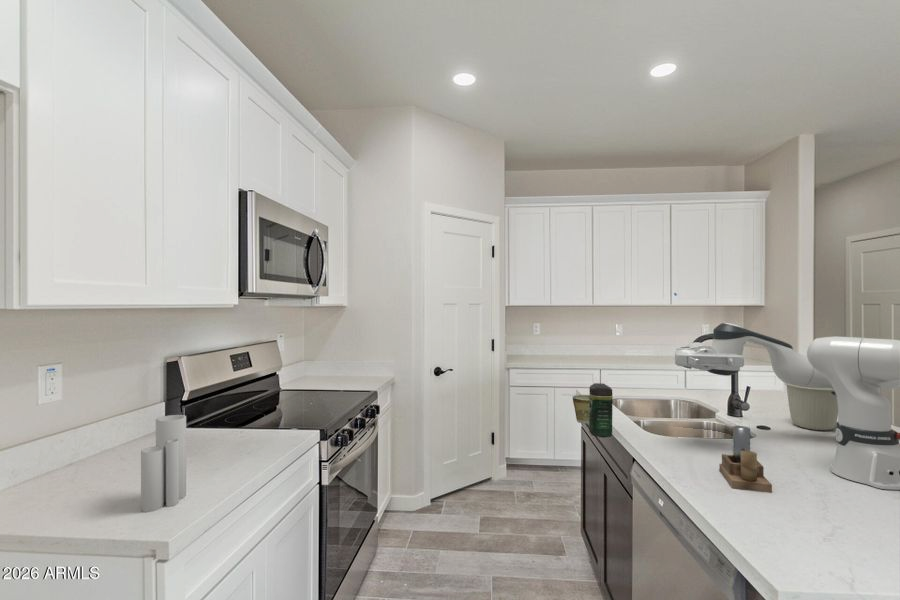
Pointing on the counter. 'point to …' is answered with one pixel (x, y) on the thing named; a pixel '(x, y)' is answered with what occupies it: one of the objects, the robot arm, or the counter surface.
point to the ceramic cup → (582, 408)
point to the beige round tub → (812, 407)
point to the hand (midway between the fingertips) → (713, 362)
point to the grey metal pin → (740, 442)
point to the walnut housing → (745, 472)
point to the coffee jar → (600, 410)
